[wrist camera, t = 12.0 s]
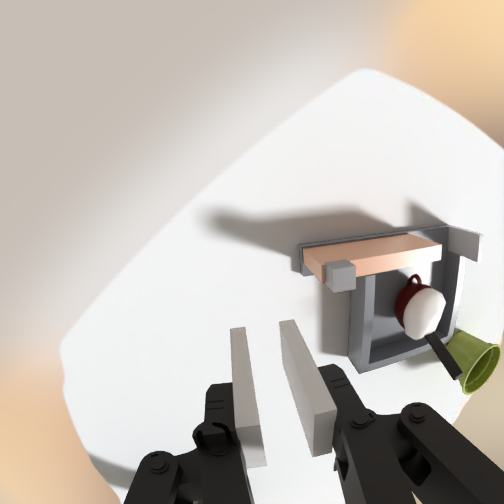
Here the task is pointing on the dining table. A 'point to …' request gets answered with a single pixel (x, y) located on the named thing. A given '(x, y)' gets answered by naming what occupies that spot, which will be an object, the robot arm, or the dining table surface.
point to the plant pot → (474, 360)
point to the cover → (367, 258)
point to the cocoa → (424, 319)
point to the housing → (391, 284)
